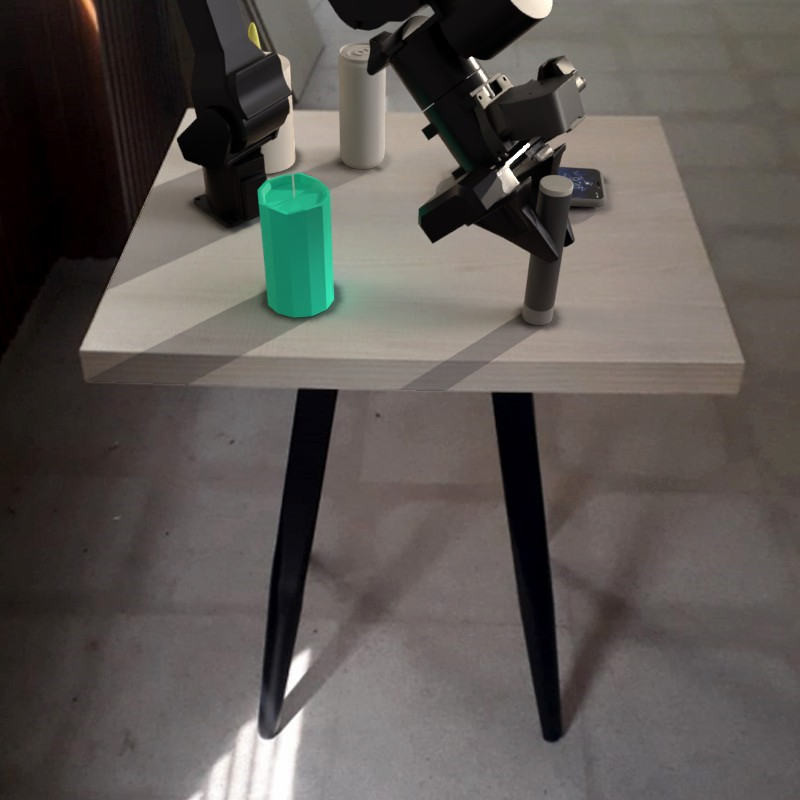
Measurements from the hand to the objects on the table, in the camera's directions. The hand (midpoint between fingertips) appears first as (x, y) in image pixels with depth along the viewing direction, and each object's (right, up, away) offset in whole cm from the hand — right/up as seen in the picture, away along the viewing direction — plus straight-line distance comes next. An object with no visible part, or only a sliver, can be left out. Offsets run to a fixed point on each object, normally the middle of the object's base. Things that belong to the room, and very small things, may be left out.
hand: (562, 252), depth 78 cm
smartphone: (0, +10, +22) cm, 24 cm away
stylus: (-1, -5, +5) cm, 7 cm away
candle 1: (-28, +14, +25) cm, 40 cm away
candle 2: (-22, -3, +7) cm, 23 cm away
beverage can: (-17, +14, +26) cm, 34 cm away
